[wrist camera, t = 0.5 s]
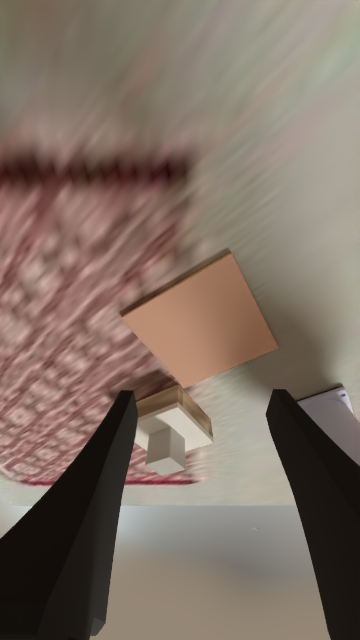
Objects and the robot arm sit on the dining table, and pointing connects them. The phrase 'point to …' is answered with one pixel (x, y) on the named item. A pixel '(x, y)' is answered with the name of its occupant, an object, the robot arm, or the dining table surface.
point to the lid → (169, 438)
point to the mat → (203, 323)
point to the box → (170, 398)
